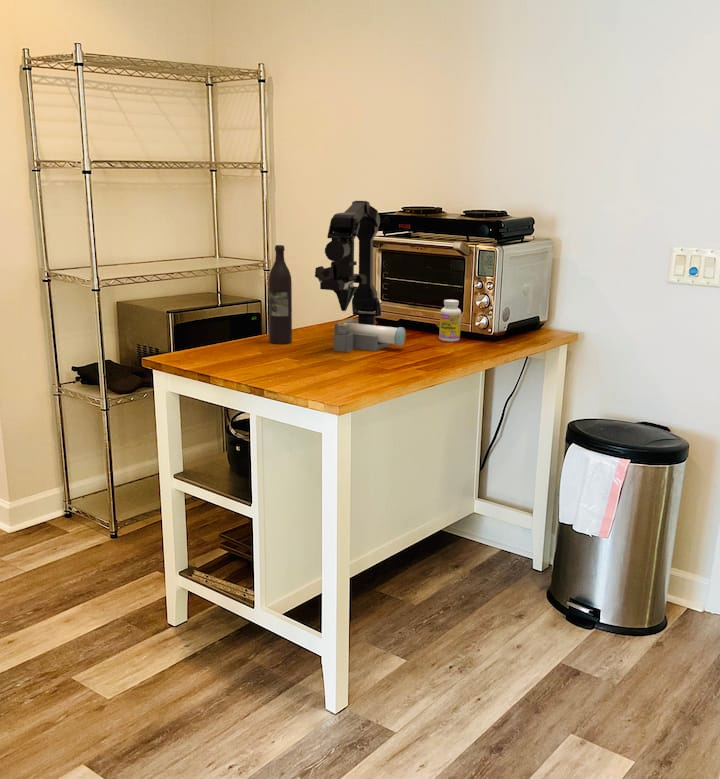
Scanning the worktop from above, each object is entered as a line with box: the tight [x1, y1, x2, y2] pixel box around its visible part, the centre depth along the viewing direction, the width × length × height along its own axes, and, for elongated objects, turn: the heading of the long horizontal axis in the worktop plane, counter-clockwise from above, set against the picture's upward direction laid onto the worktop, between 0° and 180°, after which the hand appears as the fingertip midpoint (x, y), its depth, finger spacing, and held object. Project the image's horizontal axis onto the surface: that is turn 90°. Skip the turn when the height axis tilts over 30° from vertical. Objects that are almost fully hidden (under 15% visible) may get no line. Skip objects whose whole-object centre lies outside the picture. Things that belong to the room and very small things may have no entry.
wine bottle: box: [268, 244, 293, 345], centre depth 250 cm, size 7×7×30 cm
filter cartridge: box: [349, 322, 406, 347], centre depth 247 cm, size 6×18×6 cm, turn 63°
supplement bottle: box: [438, 299, 462, 343], centre depth 260 cm, size 7×7×13 cm
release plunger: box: [337, 320, 349, 335], centre depth 243 cm, size 3×3×6 cm
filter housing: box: [333, 318, 390, 353], centre depth 247 cm, size 16×14×7 cm
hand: (343, 310), depth 241 cm, fingers closed
